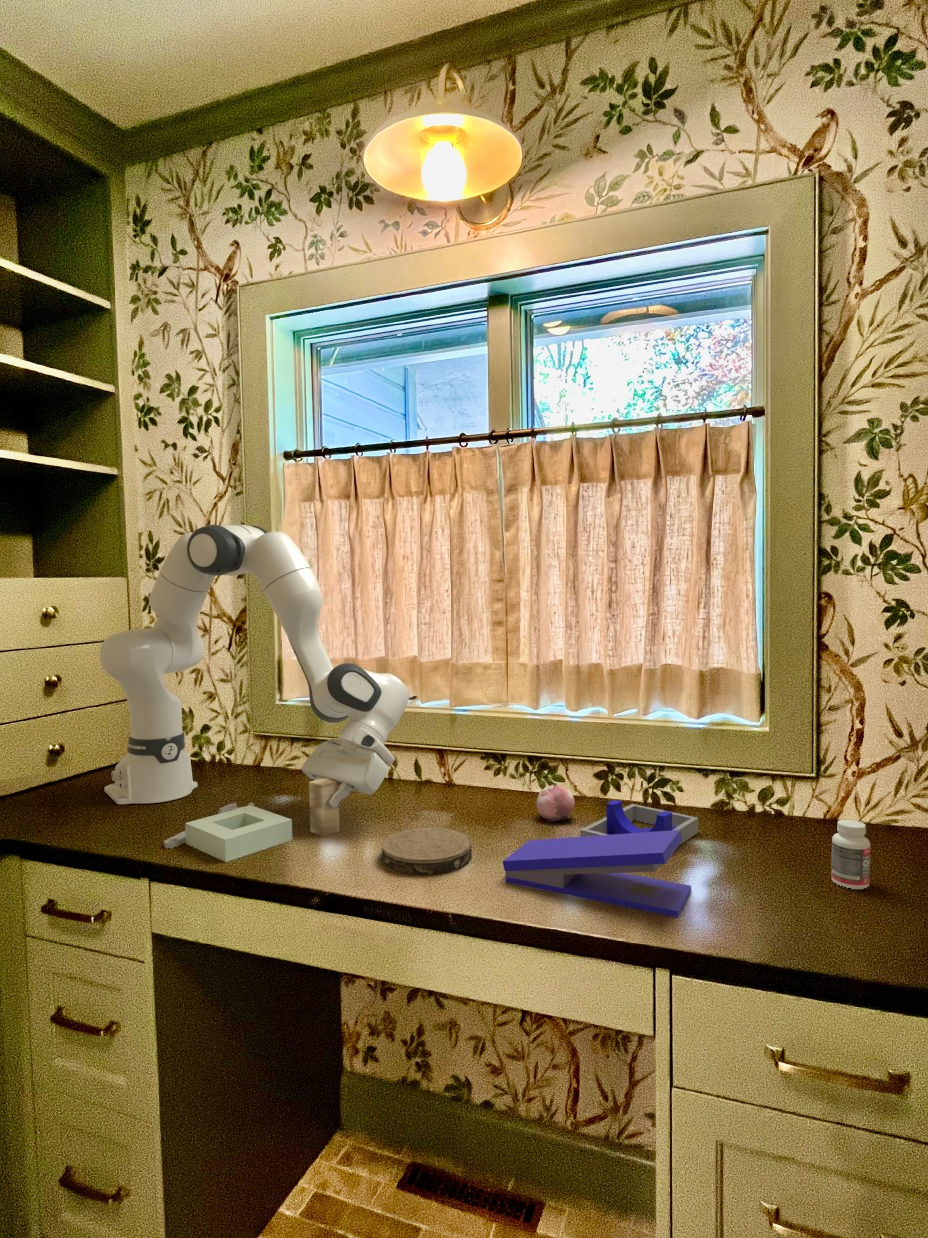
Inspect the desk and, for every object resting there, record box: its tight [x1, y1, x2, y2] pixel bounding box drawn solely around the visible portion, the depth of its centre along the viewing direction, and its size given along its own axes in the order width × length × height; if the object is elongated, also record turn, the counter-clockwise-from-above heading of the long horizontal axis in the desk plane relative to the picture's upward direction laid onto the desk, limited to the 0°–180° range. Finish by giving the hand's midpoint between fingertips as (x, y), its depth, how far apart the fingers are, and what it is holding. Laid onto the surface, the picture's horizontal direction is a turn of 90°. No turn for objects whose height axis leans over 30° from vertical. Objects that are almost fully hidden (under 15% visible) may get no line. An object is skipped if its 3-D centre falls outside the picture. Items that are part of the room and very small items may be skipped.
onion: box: [536, 784, 576, 823], centre depth 148 cm, size 8×8×7 cm
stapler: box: [502, 830, 692, 918], centre depth 115 cm, size 12×28×10 cm, turn 62°
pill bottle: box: [831, 819, 871, 890], centre depth 115 cm, size 5×5×10 cm
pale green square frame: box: [184, 805, 293, 863], centre depth 136 cm, size 14×14×4 cm
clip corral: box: [579, 803, 699, 846], centre depth 135 cm, size 14×20×3 cm
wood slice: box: [381, 827, 473, 877], centre depth 128 cm, size 16×16×3 cm
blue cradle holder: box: [606, 799, 676, 835], centre depth 135 cm, size 12×4×6 cm, turn 47°
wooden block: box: [308, 778, 340, 837], centre depth 142 cm, size 4×4×10 cm
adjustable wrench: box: [163, 802, 256, 849], centre depth 146 cm, size 25×6×2 cm, turn 158°
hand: (321, 802), depth 141 cm, fingers closed on wooden block, 4 cm apart
